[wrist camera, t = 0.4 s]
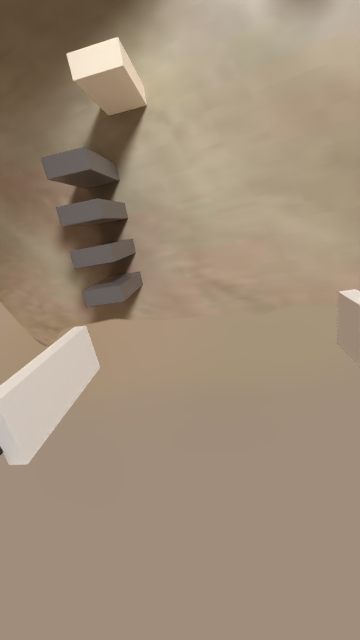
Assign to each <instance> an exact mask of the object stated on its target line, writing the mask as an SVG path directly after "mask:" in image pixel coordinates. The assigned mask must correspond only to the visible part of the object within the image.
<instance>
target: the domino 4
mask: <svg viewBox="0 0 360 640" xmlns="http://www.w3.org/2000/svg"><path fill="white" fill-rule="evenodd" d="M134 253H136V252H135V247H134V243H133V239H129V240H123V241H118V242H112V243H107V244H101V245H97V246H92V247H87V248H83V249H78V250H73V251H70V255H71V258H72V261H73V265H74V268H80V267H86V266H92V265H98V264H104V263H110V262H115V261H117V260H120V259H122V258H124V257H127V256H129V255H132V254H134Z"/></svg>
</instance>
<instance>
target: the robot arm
mask: <svg viewBox="0 0 360 640" xmlns="http://www.w3.org/2000/svg"><path fill="white" fill-rule="evenodd" d="M337 344H338V345H339V346H340V347H341V348H342V349H343V350H344V351H345V353H347V355H348V356H349V357H350V358H351V359H352V360H353V361H354V362H355V363H356V364H357V365H358V366H359V367H360V291H358V290H356V289H355V290H348V291H340V292H338V315H337ZM99 369H100V366H99V363H98V360H97V357H96V354H95V351H94V348H93V345H92V342H91V339H90V336H89V333H88V330H87V327H86V326H80V327H74V328H72V329H71V330H70V331H69V332H67V333H66V334H65V335H64V336H62V337H61V338H60V339H58V340H57V341H56V342H55V343H53V344H52V345H51V346H50V347H48V348H47V349H46V350H45V351H43V352H42V353H41V354H40V355H38V356H37V357H36V358H35V359H33V360H32V361H31V362H29V364H27V365H26V366H24V367H23V368H22V369H21V370H19V371H18V372H17V373H16V374H14V375H13V376H12V377H11V378H9V379H8V380H7V381H6V382H4V383H3V384H2V385H0V455H1V454H2V453H3V454H4V456H5V458H6V459H7V461H8V463H9V465H19V464H28V463H29V461H30V460H31V459H32V458H33V456H34V455H35V454H36V452H37V451H38V450H39V448H40V447H41V446H42V444H43V443H44V442H45V440H46V439H47V438H48V436H49V435H50V434H51V432H52V431H53V430H54V428H55V427H56V426H57V424H58V423H59V422H60V420H61V419H62V417H63V416H64V415H65V414H66V412H67V411H68V410H69V408H70V407H71V406H72V404H73V403H74V402H75V400H76V399H77V398H78V396H79V395H80V394H81V392H82V391H83V390H84V388H85V387H86V386H87V384H88V383H89V382H90V380H91V379H92V378H93V376H94V375H95V374H96V372H97V371H98V370H99Z"/></svg>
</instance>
